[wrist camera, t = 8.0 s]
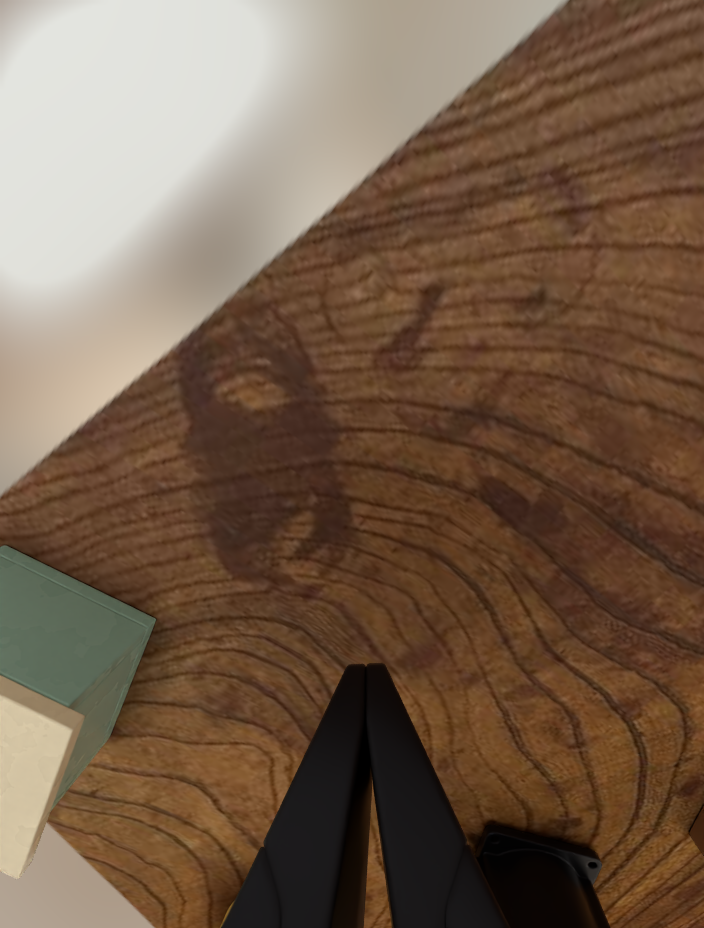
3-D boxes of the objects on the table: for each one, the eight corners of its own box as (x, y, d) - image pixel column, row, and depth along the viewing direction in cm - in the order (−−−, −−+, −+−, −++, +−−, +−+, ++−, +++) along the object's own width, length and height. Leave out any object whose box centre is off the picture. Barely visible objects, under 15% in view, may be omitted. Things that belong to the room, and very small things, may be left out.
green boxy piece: (157, 618, 20) (69, 706, 15) (110, 737, 23) (17, 853, 17) (5, 544, 20) (-142, 603, 15) (-28, 670, 22) (-167, 764, 17)
